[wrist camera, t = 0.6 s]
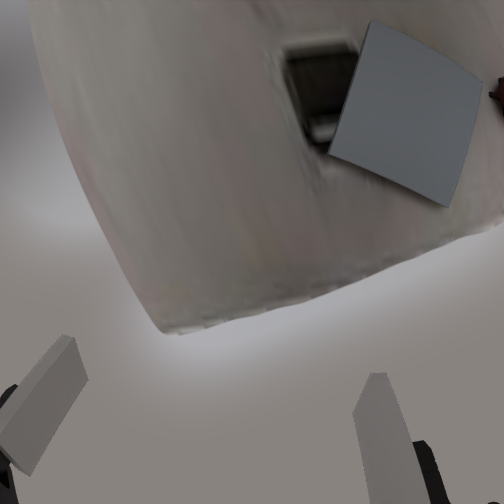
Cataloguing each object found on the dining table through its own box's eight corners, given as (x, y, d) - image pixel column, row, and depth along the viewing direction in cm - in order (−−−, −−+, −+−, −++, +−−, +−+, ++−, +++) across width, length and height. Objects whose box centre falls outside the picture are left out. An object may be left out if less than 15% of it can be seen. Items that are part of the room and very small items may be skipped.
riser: (365, 29, 27) (371, 19, 24) (469, 85, 27) (482, 81, 23) (325, 153, 33) (329, 153, 30) (436, 203, 33) (448, 208, 30)
